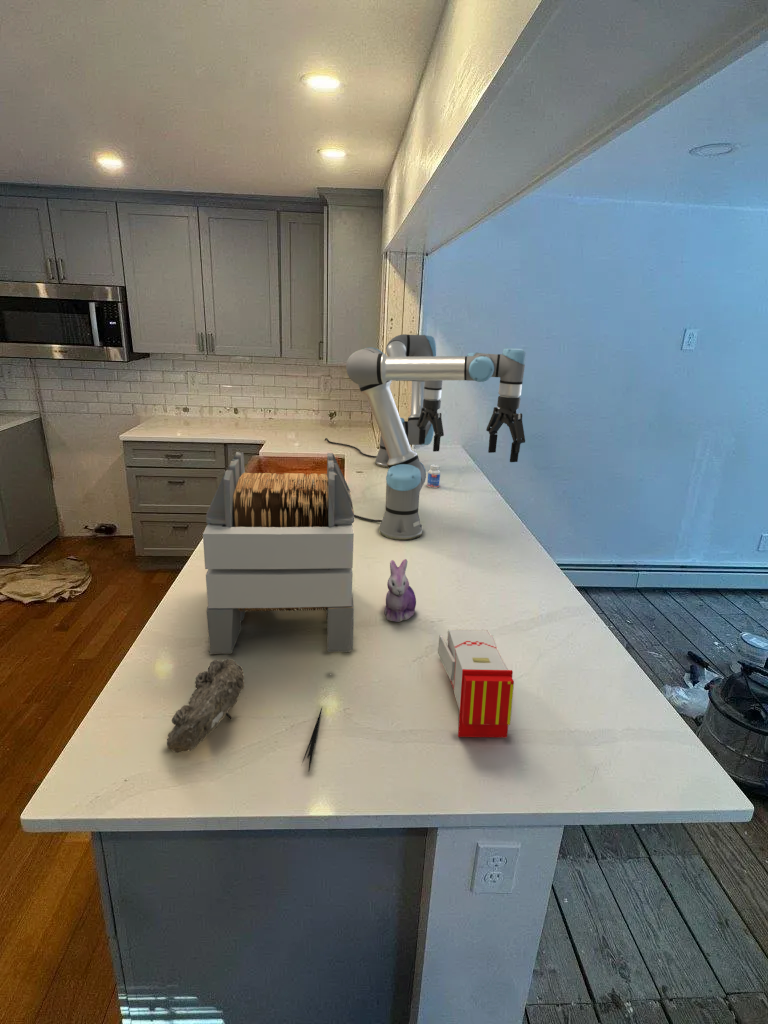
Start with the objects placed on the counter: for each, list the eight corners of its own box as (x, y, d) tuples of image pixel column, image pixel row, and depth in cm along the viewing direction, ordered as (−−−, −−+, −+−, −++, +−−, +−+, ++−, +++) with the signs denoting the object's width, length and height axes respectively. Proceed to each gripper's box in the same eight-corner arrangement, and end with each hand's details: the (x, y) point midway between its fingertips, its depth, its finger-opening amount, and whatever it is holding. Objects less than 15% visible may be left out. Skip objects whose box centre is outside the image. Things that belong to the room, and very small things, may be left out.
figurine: (392, 627, 141) (395, 572, 136) (374, 608, 149) (376, 556, 144) (425, 619, 145) (429, 566, 140) (405, 601, 154) (408, 550, 149)
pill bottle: (430, 488, 252) (431, 467, 249) (424, 485, 257) (426, 464, 253) (441, 487, 254) (442, 466, 251) (435, 484, 259) (437, 463, 255)
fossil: (192, 660, 117) (244, 628, 112) (224, 691, 120) (276, 661, 115) (142, 746, 98) (202, 712, 93) (182, 779, 101) (242, 748, 96)
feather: (331, 679, 122) (336, 673, 122) (307, 777, 96) (313, 769, 95) (324, 675, 122) (329, 669, 121) (298, 772, 95) (304, 764, 95)
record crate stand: (229, 585, 158) (221, 442, 144) (346, 584, 161) (350, 444, 148) (206, 656, 126) (193, 481, 112) (353, 652, 130) (358, 483, 116)
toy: (488, 613, 130) (523, 677, 101) (484, 667, 133) (517, 744, 104) (435, 612, 130) (455, 676, 101) (432, 666, 133) (451, 743, 103)
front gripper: (541, 401, 183) (532, 465, 190) (498, 390, 204) (492, 448, 211) (521, 402, 180) (513, 466, 187) (480, 390, 201) (474, 449, 209)
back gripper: (454, 404, 234) (450, 453, 241) (426, 394, 255) (423, 440, 262) (438, 404, 231) (434, 455, 238) (411, 394, 252) (408, 441, 259)
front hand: (502, 457), depth 199 cm, fingers open, 13 cm apart
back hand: (428, 447), depth 250 cm, fingers open, 13 cm apart
